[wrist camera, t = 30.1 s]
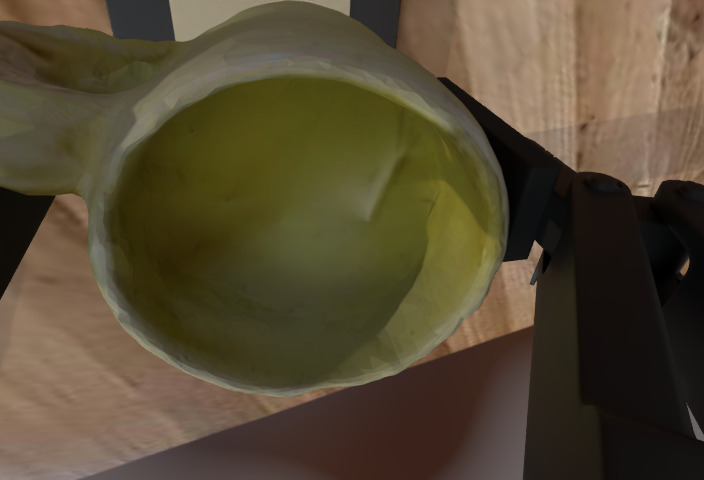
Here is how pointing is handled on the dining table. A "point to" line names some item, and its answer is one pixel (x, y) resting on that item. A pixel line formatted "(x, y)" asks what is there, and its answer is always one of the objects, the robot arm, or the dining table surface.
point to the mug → (262, 191)
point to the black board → (229, 16)
